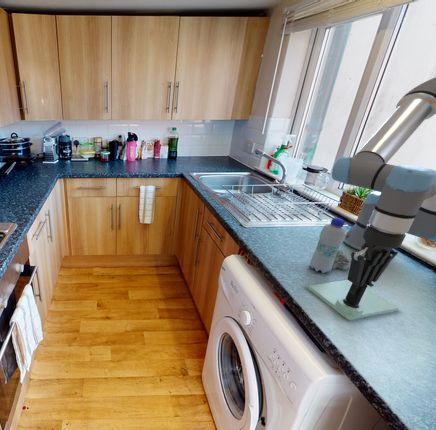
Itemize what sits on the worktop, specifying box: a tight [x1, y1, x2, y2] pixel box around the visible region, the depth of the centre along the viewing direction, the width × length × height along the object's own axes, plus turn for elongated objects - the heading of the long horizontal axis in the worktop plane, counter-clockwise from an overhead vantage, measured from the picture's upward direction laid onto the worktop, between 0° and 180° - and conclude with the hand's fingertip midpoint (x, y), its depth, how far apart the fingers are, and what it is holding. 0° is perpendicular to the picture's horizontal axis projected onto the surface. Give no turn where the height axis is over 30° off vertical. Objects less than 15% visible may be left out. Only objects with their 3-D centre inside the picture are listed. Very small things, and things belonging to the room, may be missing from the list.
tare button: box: [344, 299, 358, 308], centre depth 82 cm, size 3×3×2 cm
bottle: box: [309, 217, 347, 274], centre depth 98 cm, size 7×7×20 cm
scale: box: [307, 279, 400, 321], centre depth 87 cm, size 18×14×3 cm
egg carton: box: [331, 249, 351, 271], centre depth 106 cm, size 11×8×4 cm
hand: (351, 301), depth 81 cm, fingers closed
